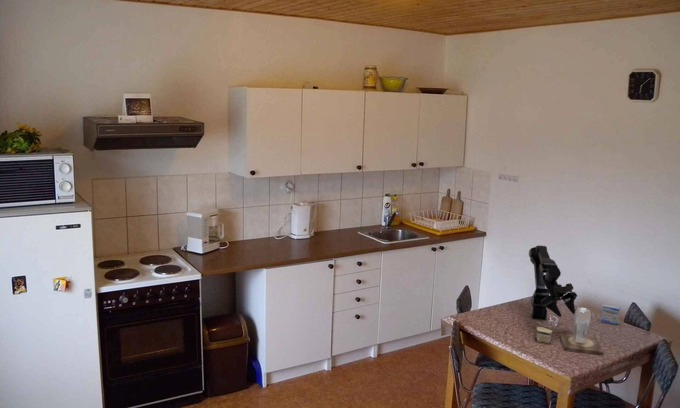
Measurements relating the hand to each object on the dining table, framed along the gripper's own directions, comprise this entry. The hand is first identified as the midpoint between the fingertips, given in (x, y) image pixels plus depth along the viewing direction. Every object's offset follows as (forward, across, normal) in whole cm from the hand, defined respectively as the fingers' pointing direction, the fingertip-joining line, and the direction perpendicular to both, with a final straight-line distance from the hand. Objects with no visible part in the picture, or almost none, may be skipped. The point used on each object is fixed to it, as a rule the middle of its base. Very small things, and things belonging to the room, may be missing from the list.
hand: (567, 315), depth 267 cm
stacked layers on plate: (+7, -13, +9) cm, 18 cm away
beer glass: (+13, -1, 0) cm, 13 cm away
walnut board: (+14, -1, +1) cm, 15 cm away
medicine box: (+5, +37, +12) cm, 39 cm away
